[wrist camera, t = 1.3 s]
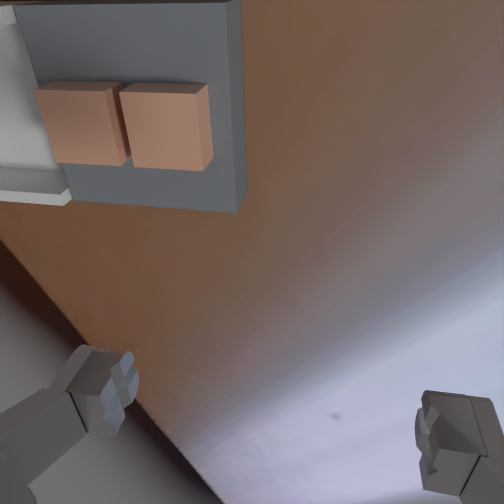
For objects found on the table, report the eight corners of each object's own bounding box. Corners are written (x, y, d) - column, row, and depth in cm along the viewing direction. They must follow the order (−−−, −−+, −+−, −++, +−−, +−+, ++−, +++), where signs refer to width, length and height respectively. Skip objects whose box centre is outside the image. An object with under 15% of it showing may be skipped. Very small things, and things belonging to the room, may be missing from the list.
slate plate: (49, 0, 29) (12, 5, 26) (240, -3, 27) (225, 2, 24) (97, 179, 37) (73, 200, 34) (246, 189, 35) (236, 212, 32)
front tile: (135, 82, 27) (118, 91, 25) (207, 83, 26) (195, 94, 25) (148, 153, 30) (134, 167, 28) (213, 156, 29) (203, 171, 27)
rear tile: (55, 80, 28) (33, 89, 26) (122, 82, 28) (104, 91, 26) (75, 149, 31) (56, 162, 29) (135, 152, 30) (120, 166, 28)
